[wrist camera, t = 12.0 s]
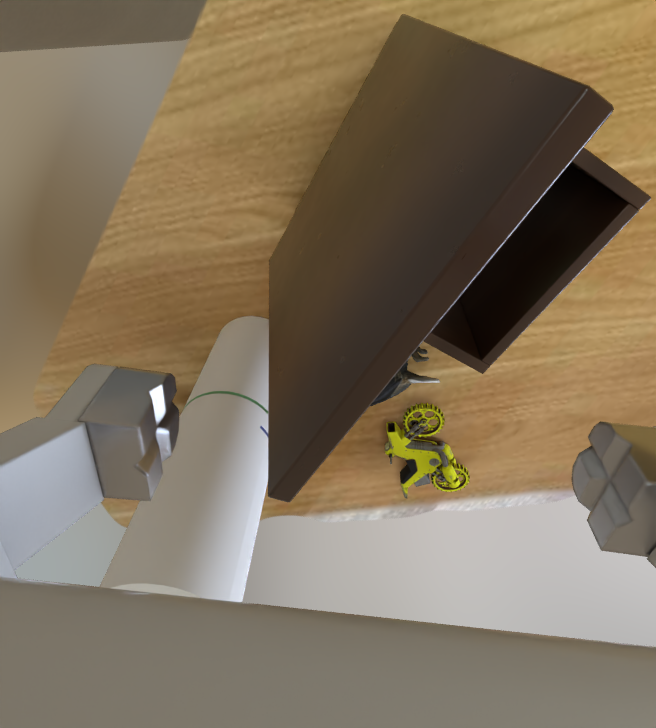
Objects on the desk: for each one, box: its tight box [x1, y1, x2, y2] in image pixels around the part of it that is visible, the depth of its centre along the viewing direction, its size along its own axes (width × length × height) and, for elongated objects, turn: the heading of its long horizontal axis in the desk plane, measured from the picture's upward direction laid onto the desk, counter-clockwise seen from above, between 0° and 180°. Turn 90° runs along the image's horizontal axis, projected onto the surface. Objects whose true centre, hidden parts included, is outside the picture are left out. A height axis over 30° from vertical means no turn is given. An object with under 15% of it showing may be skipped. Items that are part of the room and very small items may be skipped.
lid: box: [268, 14, 614, 502], centre depth 19 cm, size 16×14×1 cm
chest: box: [295, 23, 651, 374], centre depth 32 cm, size 16×14×10 cm
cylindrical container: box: [100, 316, 269, 602], centre depth 34 cm, size 7×7×25 cm
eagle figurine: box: [370, 347, 440, 406], centre depth 42 cm, size 8×7×9 cm
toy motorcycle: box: [385, 403, 470, 498], centre depth 48 cm, size 12×4×7 cm
